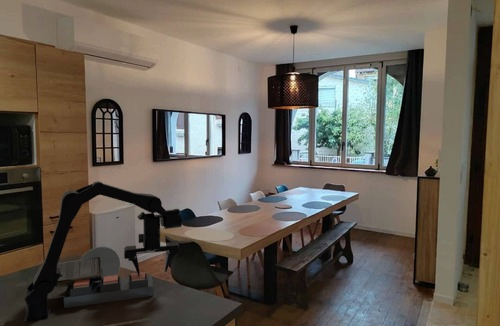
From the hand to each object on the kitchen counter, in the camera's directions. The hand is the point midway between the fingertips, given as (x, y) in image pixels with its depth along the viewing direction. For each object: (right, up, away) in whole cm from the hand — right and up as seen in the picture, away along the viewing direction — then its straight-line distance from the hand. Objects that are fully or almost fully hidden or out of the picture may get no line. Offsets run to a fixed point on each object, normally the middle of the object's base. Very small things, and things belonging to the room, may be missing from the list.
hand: (152, 273), depth 126 cm
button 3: (-21, -3, -8) cm, 23 cm away
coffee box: (-33, +1, -6) cm, 34 cm away
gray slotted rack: (-14, -7, -3) cm, 16 cm away
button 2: (-13, -3, -5) cm, 14 cm away
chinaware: (-22, -3, +11) cm, 25 cm away
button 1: (-5, -3, -1) cm, 6 cm away
